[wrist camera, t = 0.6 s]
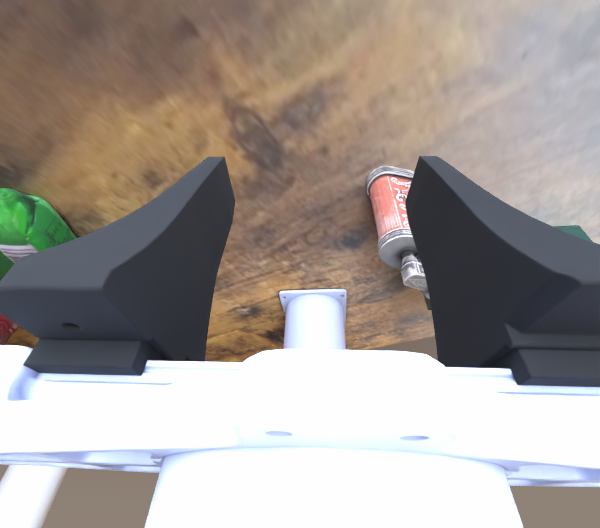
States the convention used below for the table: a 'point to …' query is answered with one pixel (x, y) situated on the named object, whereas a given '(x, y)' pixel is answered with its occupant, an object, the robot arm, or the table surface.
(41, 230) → the snack package
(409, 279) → the lighter
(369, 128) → the table surface
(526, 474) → the robot arm
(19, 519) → the cylindrical container
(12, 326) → the kitchen canister
